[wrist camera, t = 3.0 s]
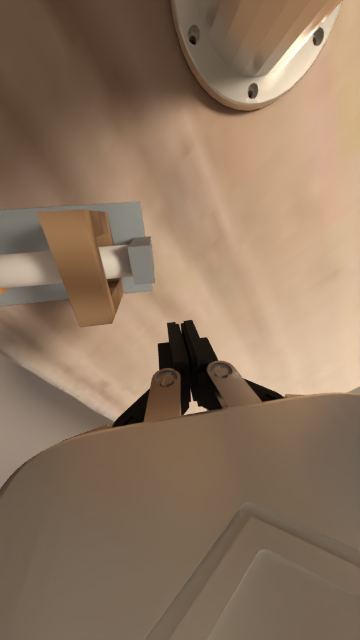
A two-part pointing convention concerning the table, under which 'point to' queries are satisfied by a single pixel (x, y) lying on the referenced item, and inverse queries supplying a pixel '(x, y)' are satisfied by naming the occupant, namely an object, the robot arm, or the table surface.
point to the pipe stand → (39, 265)
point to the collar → (83, 262)
